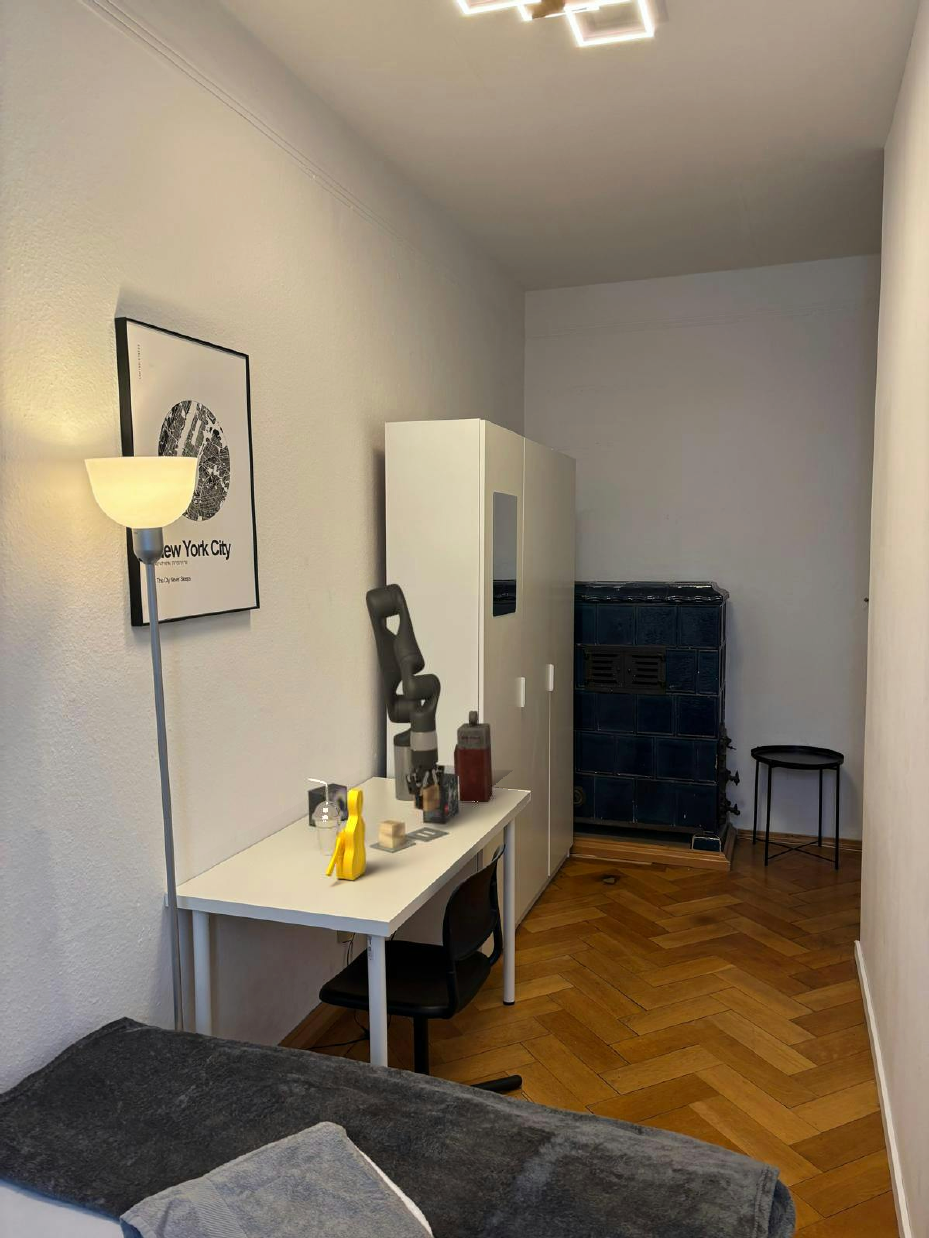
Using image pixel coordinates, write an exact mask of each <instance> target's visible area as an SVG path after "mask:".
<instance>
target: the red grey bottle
mask: <svg viewBox="0 0 929 1238" xmlns="http://www.w3.org/2000/svg"><path fill="white" fill-rule="evenodd" d="M491 739H492V738H491V725H490V723H481V722H480V723H479V713H478V711H477V710H469V712H468V722H466V723H465V722H464V723H463V724H462V725H461V726H459V728H457V730H456V740H457V742H456V744H455V746H454V747H455V748H454V750H453V767H454V770H453V771H454V772H453V774H458V801H459V802H460V801H475V802H474V803H479V802H487V803H489V801H490V800H489V799H491V798H492V797H493V795H492V794H493V768H492V765H493V764H492V745H491V744H492V743H491V742H492V741H491ZM491 796H492V797H491ZM490 797H491V798H490ZM477 801H478V802H477Z"/></svg>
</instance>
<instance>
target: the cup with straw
mask: <svg viewBox="0 0 929 1238" xmlns="http://www.w3.org/2000/svg"><path fill="white" fill-rule="evenodd" d="M307 781H308V782H314V783H317V784H322V785H324V786H325V788H326V801H324V802H322V803H320V804H319V805H318V806H317V807H316V809H315V812H314V813H313V814H312V819H313V820H315V825H316V827H315V828H316V832H317V838H318V843H319V844H318V845H319V850H320V854H321V855H323V856H333V853H334V849H335V843H336V840H337V837H336V836H337V835H338V833H340V827H341V823H342V822H341V818H342V817H343V816H344V815H343V812H342V811H340V808H339V806H338V805H337V804H336V803H334V802H331V801H329V796H328V785H329V784H328V783H327V781H324V780H320V779H315V778H310V777H309V778H308V779H307Z"/></svg>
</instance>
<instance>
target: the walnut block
mask: <svg viewBox="0 0 929 1238" xmlns="http://www.w3.org/2000/svg"><path fill="white" fill-rule="evenodd" d="M419 789H420V787H419V788H418V791H419ZM422 796H423V806H424V808H423V809H418V808H417V807H416V805H415V795H414V800H413V807H414V808H413V809H416V810H418V811H419V810H420V811H422V812H423V811H430V810H433V809H435V808H438V807H440V804H439V786H436V785H435V786H434V785H432V784H427V783H426V787H425V788H424V789H423V795H422Z"/></svg>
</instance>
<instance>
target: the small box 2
mask: <svg viewBox="0 0 929 1238" xmlns="http://www.w3.org/2000/svg"><path fill="white" fill-rule="evenodd" d="M438 782H439V777H438ZM427 784H428V783H427ZM439 804H440V807H438V808H435V809H433V810H430V811H423V810H422V823H426V824H427V823H428V824H437V823H438V824H440V825H445V824H446V823H448V822H449V821H450V820H451V819H452V818H453V817H455V816H456V815H455V814H458V813H459V812H460V811H459V776H458V774H454V773H447V772H446V773H445V772H444V778H443V786H442V787H439ZM450 818H451V819H450ZM449 819H450V820H449Z"/></svg>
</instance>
